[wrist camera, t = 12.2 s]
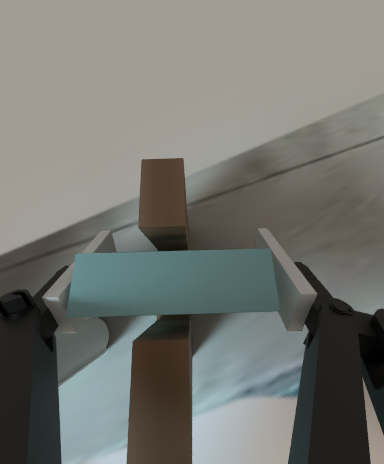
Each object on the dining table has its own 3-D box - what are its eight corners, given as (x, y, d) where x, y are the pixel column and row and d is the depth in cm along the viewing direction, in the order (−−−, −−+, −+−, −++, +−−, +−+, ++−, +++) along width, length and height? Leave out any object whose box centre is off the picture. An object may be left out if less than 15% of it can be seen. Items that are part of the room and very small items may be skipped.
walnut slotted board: (167, 358, 19) (126, 468, 7) (167, 225, 23) (141, 159, 11) (192, 357, 19) (192, 465, 7) (187, 224, 23) (183, 158, 11)
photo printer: (10, 397, 18) (-350, 609, 6) (5, 349, 19) (-303, 448, 7) (115, 351, 19) (-14, 455, 7) (105, 309, 20) (-21, 337, 8)
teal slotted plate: (137, 301, 20) (65, 317, 9) (139, 273, 21) (75, 253, 10) (230, 298, 20) (280, 311, 9) (228, 270, 21) (270, 248, 10)
